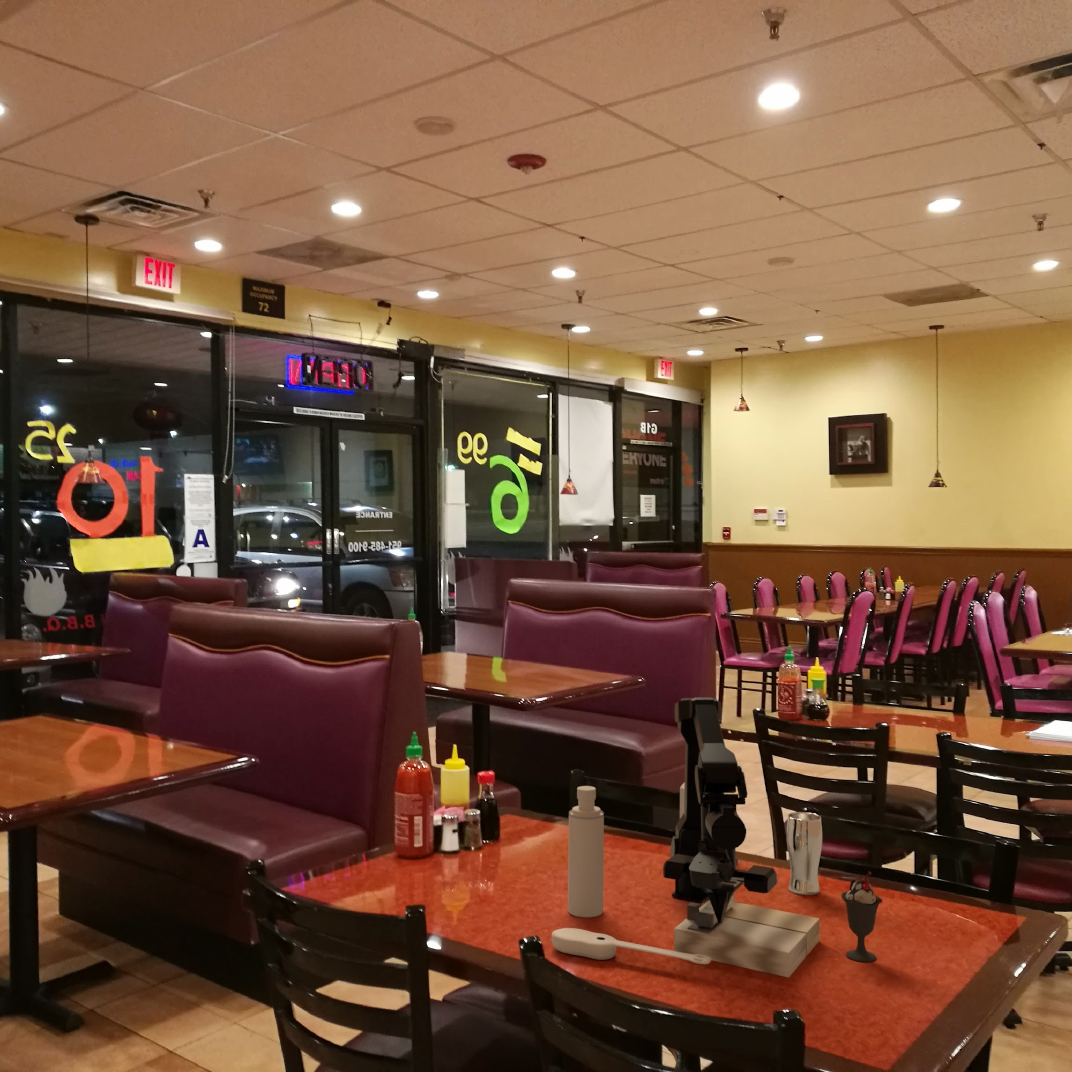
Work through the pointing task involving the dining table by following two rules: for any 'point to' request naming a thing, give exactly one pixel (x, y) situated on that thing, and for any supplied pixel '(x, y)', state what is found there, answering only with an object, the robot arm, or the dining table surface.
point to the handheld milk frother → (608, 946)
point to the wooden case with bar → (750, 938)
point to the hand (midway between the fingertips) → (720, 922)
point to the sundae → (861, 916)
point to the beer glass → (804, 851)
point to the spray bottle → (585, 856)
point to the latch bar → (710, 915)
